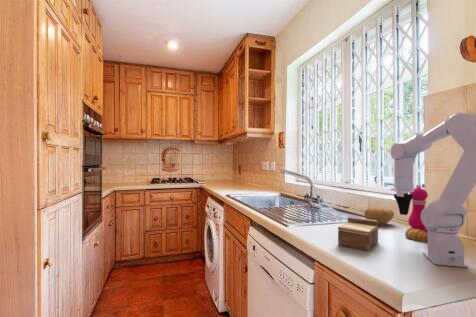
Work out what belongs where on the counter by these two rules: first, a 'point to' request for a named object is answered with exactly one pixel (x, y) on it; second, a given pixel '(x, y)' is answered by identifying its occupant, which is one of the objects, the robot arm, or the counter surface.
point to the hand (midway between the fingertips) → (403, 214)
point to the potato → (379, 214)
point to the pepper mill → (418, 208)
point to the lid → (359, 226)
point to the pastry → (417, 235)
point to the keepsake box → (358, 240)
